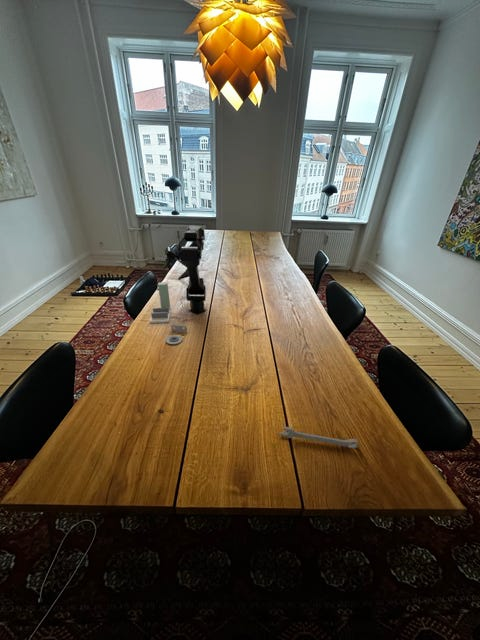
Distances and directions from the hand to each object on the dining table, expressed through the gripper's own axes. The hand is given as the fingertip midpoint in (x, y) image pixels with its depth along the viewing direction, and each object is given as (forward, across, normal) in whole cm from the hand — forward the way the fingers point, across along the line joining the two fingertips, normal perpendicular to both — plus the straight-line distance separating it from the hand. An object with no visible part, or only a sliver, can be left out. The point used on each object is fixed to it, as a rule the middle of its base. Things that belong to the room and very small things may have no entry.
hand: (171, 274), depth 125 cm
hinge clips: (+13, -3, +18) cm, 22 cm away
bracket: (+8, -5, +36) cm, 37 cm away
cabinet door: (+13, -6, +8) cm, 16 cm away
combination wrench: (-21, -19, +92) cm, 96 cm away
